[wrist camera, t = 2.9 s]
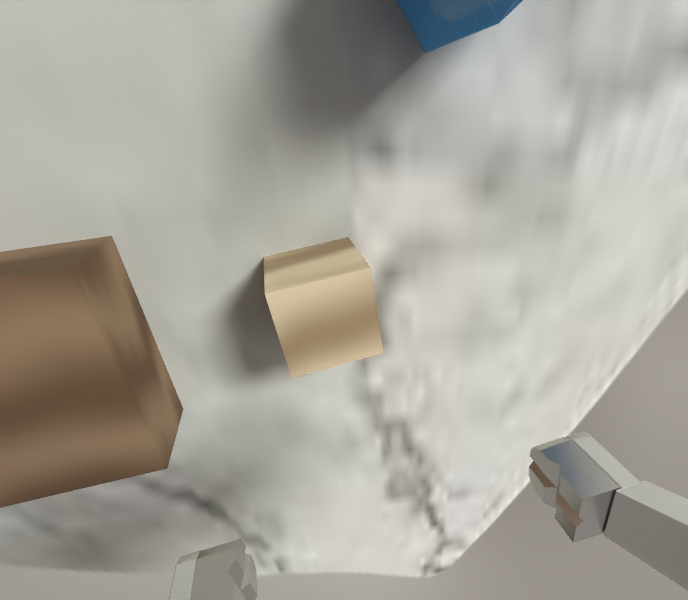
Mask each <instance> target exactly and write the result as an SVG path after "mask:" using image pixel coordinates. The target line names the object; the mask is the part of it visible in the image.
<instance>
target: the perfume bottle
mask: <svg viewBox="0 0 688 600" xmlns="http://www.w3.org/2000/svg"><path fill="white" fill-rule="evenodd" d="M396 1H397V3H398V5H399V7H400V8H401V10H402V12H403V14H404V15H405V17H406V19H407V21H408V22H409V24H410V26H411V28H412V30H413V31H414V33H415V35H416V37H417V38H418V40H419V42H420V44H421V45H422V47H423V49H424V51H425V52H428V51H431V50H433V49H436V48H438V47H441V46H443V45H446V44H448V43H451V42H453V41H456V40H458V39H461V38H463V37H466V36H468V35H471V34H473V33H476V32H478V31H481V30H483V29H486V28H488V27H491V26H493V25H496V24H498V23H500V22H501V21H502V20H503V19H504V18H505V17H506V16H507V15H508V14H509V13H510V12H511V11H512V10H513V9H514V8H515V7H516V6H517V5H518V4H520V3H521V2H522V1H523V0H396Z"/></svg>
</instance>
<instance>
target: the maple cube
mask: <svg viewBox="0 0 688 600" xmlns="http://www.w3.org/2000/svg"><path fill="white" fill-rule="evenodd" d="M264 287H265V297H266V300H267V303H268V306H269V309H270V312H271V316H272V319H273V322H274V325H275V328H276V331H277V334H278V338H279V341H280V344H281V347H282V350H283V353H284V356H285V360H286V363H287V366H288V369H289V372H290V375H291V378H294V377H297V376H301V375H305V374H308V373H312V372H316V371H319V370H323V369H327V368H330V367H334V366H338V365H341V364H345V363H348V362H352V361H356V360H359V359H363V358H367V357H370V356H374V355H378V354H381V353H383V346H382V340H381V333H380V327H379V320H378V313H377V307H376V300H375V293H374V287H373V280H372V274H371V268H370V266H369V265H368V263H367V262H366V261H365V259H364V258H363V257H362V255H361V254H360V253H359V251H358V250H357V249H356V247H355V246H354V245H353V243H352V242H351V240H350V239H349V238H348V237H347V238H342V239H338V240H334V241H330V242H326V243H322V244H317V245H313V246H309V247H305V248H301V249H296V250H292V251H288V252H284V253H280V254H275V255H271V256H267V257H264Z"/></svg>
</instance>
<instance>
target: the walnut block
mask: <svg viewBox="0 0 688 600" xmlns="http://www.w3.org/2000/svg"><path fill="white" fill-rule="evenodd" d="M182 411H183V408H182V405H181V403H180V400H179V398H178V395H177V393H176V391H175V388H174V386H173V383H172V381H171V378H170V376H169V374H168V371H167V369H166V366H165V364H164V361H163V359H162V357H161V354H160V352H159V349H158V347H157V344H156V342H155V340H154V337H153V335H152V332H151V330H150V327H149V325H148V323H147V320H146V318H145V315H144V313H143V310H142V308H141V306H140V303H139V301H138V298H137V296H136V293H135V291H134V289H133V286H132V284H131V281H130V279H129V276H128V274H127V272H126V269H125V267H124V264H123V262H122V259H121V257H120V255H119V252H118V250H117V247H116V245H115V242H114V240H113V238H112V236H108V237H101V238H94V239H87V240H80V241H73V242H67V243H60V244H53V245H46V246H39V247H32V248H25V249H18V250H12V251H5V252H0V508H1V507H5V506H9V505H13V504H18V503H22V502H26V501H30V500H35V499H39V498H43V497H47V496H52V495H56V494H60V493H65V492H69V491H73V490H77V489H82V488H86V487H90V486H94V485H99V484H103V483H107V482H111V481H116V480H120V479H124V478H128V477H133V476H137V475H141V474H145V473H150V472H154V471H158V470H162V469H167V468H168V464H169V460H170V457H171V453H172V449H173V445H174V442H175V438H176V434H177V430H178V426H179V423H180V419H181V415H182Z"/></svg>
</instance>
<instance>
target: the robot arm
mask: <svg viewBox="0 0 688 600" xmlns="http://www.w3.org/2000/svg"><path fill="white" fill-rule="evenodd" d="M530 457H531V458H532V459H533V460H534V461H533V462H532V464H531V465H530V466H529V477H530V480H531V483H532V485H533V487H534V489H535V491H536V493H537V494H538V496H539V497H540V498H541V500H542V501H543V502H544V503H546V504H548V505H550V506H552V507H553V508H554V516H555V519H556V520H557V521H558V523H559V524H560V526H561V527H562V528H563V530H564V531H565V532H566V534H567V535H568V536H569V538H570V539H571V540H572V542H577V541H580V540H583V539H586V538H590V537H593V536H596V535H599V534H603V533H604V536H606V537H607V538H609V539H610V540H612V541H613V542H615V543H616V544H618V545H620V546H621V547H622V548H624V549H626V550H627V551H629V552H630V553H631V554H633V555H634V556H636V557H638V558H639V559H641V560H642V561H644V562H645V563H647V564H648V565H650V566H651V567H653V568H654V569H656V570H657V571H659V572H660V573H662V574H663V575H665V576H667V577H668V578H670V579H671V580H673V581H674V582H676V583H677V584H679V585H680V586H682V587H683V588H685V589H686V590H688V499H686V498H683V497H681V496H679V495H676V494H674V493H672V492H670V491H668V490H665V489H663V488H661V487H658V486H656V485H654V484H652V483H649V482H647V481H642V482H639V481H638V480H637V479H636V478H635V477H634V476H633V475H632V474H631V473H630V472H629V471H627V470H626V469H625V468H624V467H623V466H622V465H621V464H620V463H619V462H618V461H617V460H616V459H615V458H614V457H613V456H612V455H610V454H609V453H608V452H607V451H606V450H605V449H604V448H603V447H602V446H601V445H600V444H599V443H598V442H596V440H595V439H593V438H592V437H591V436H590V435H589V434H587V433H585V432H579V433H576V434H573V435H570V436H567V437H562V438H559V439H556V440H553V441H550V442H547V443H544V444H541V445H538V446H535V447H533V448H532V449H531V452H530ZM256 597H257V575H256V568H255V564H254V561H253V559H252V557H251V555H249V554H246V553H245V544H244V543H243V541H242V539H238V540H235V541H232V542H228V543H225V544H222V545H219V546H215V547H212V548H209V549H206V550H201V551H198V552H195V553H192V554H189V555H185V556H182V557H180V558H179V560H178V562H177V565H176V567H175V572H174V577H173V582H172V587H171V591H170V596H169V600H255V599H256Z"/></svg>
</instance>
